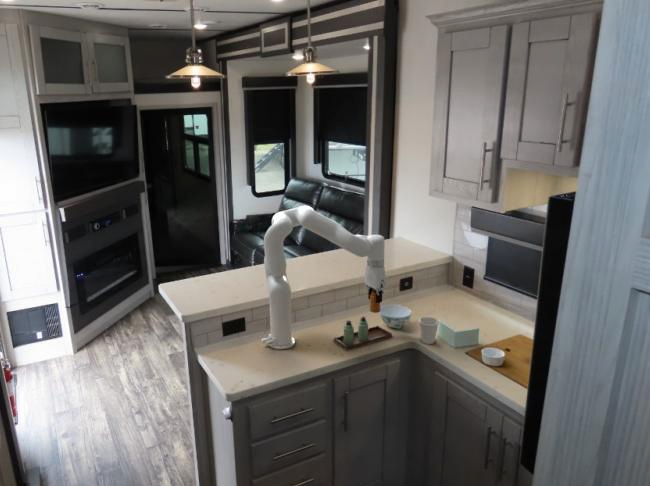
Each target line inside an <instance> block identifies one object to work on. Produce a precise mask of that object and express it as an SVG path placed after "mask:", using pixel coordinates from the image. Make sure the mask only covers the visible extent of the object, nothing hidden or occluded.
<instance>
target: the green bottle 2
mask: <svg viewBox="0 0 650 486" xmlns="http://www.w3.org/2000/svg"><path fill="white" fill-rule="evenodd" d="M366 318H367V317H366V316H361V317H360V319H359V321H358V323H357V331H358V339H359V340H361V341H366V340H368V328H369V323H368V321H367V319H366Z"/></svg>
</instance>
